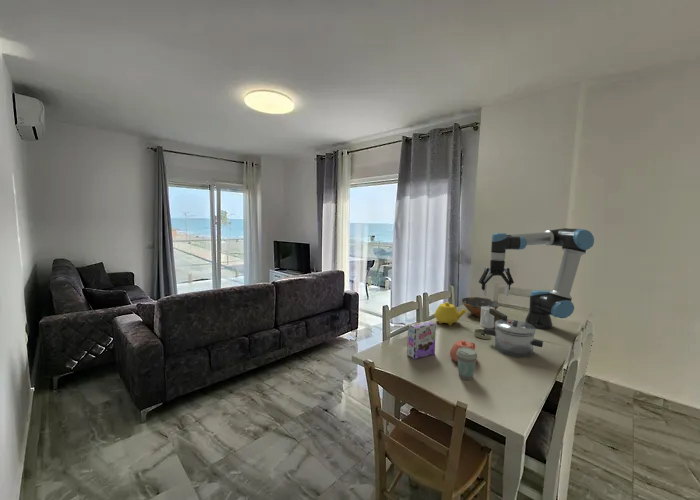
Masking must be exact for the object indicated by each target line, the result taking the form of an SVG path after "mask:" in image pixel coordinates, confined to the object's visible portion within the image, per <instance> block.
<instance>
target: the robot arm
mask: <svg viewBox="0 0 700 500" xmlns="http://www.w3.org/2000/svg"><path fill="white" fill-rule="evenodd" d="M491 235H492V236H491V247H490V249H491V251H490V262H489V263H490V264H489V265H490V267H484V271H483V273H482V274H481V276H480V278H479V280H478V283H479V284H481V290H482V296H484V297H486V296H487V288H488V287H487V286H488V285H487V283H488V282H489V281H490V280H491V279H492V278H493V277H495V276H499V277H500V276H501V278H502V280H504V282H505V284H504V295H505V296H509V291H510V290H511V285H512V284H514V283H515V282H514V280H513V277H512V274H511V272H510V267H505V265H506V264H505V263H506V261H505V259H506V252H507V250H518V251H519V250H525V248H526V247H527V246H537V245H538V246H539V245H545V246H555V247H561V250H562V251H563V255H562V256H561V261H560V265H559V268H558V271H557V276H556V279H555V282H554V285H553V289H552V290H544V289H543V290H542V289H536V290H535V289H534V290H531V291H530V295H529V309H528V310H529V311H528V313H527V316H526V318H525V321H524V322H526V323H528V324H531V325H533V326H534V327H535V328H536V329H541V330H549V329H553V321H552V318H551V316H552V317H554V318H559V319H568V317H571V316H572V314H573V313H574V311H575V305H574V303H573V302H572V299H573V297H572V296H571V291H572V289H573V285H574V282H575V278H576V275H577V271H578V269H579V268H578V267H579V265H580V261H581V257H582V256H583V255H585V254H586V251H588V250H590V249H591V248H592V247H593V246H594V243H595V236H594V235H593V232H591V231H590V230H587V229H585V228H584V229H583V228H567V227H566V228H565V227H562V228H557V229H549V230H547V229H546V230H545V231H542V232H528V233H517V234H516V233H515V234H507V233H504V232H503V233H501V232H494V233H493V234H491ZM504 272H505V273H504Z"/></svg>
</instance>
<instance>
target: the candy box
mask: <svg viewBox="0 0 700 500" xmlns="http://www.w3.org/2000/svg"><path fill="white" fill-rule="evenodd" d="M436 329H437V325H436V323H435V322H432V321H430V320H426V321H421V322H416V323H411V324H408V325H407V345H406V347H407V348H406V351H407V352H406V355H407V357H409V358H411V359H412V358H413V359H412V360H418V359H421V357H422V358H424V356H426V357H429V356H433V355H435V353H436V350H435V349H436ZM432 354H433V355H432ZM417 358H418V359H417Z"/></svg>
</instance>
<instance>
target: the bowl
mask: <svg viewBox="0 0 700 500" xmlns="http://www.w3.org/2000/svg"><path fill="white" fill-rule="evenodd" d="M460 301H461V303H462V304H463V306H464V307H465V308H466V310H468V312H469V313H471V314H472V315H473V316H475V317H479V318H481V307H483V306H488V307H493V308H495V310H497V309H498V308H499V306H500V302H498V301H496V300H492V299H490V298H485V297H479V296H478V297H477V296H472V297H471V296H470V297H468V296H467V297H463V298H461V300H460Z"/></svg>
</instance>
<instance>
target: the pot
mask: <svg viewBox="0 0 700 500" xmlns="http://www.w3.org/2000/svg"><path fill="white" fill-rule="evenodd" d="M494 328H495V329H493V328H483V334H485V335H489V336H492V337H493V336H494V349H495V350H496V351H497V352H499V353H501V354H503V355H505V356H510V357H514V358H530V357H532V356H533V355H534V346H535V347H538V348H543V346H544V340H539V339H535V334H536V332H535V333H533V334H514V333H509V332H506V331H503V330H500V329H499V328H497V327H496V326H495V325H494Z"/></svg>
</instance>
